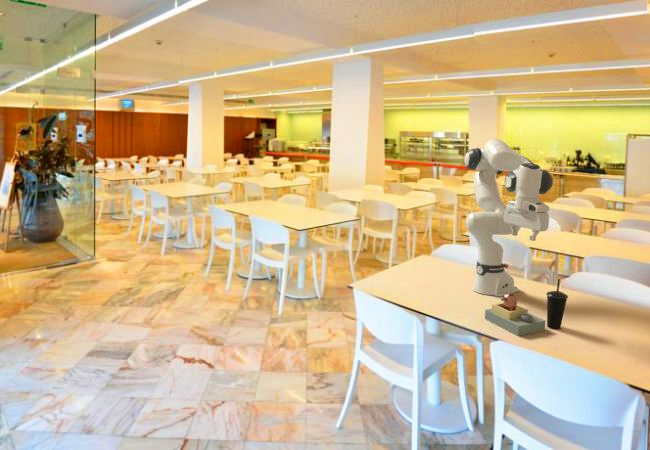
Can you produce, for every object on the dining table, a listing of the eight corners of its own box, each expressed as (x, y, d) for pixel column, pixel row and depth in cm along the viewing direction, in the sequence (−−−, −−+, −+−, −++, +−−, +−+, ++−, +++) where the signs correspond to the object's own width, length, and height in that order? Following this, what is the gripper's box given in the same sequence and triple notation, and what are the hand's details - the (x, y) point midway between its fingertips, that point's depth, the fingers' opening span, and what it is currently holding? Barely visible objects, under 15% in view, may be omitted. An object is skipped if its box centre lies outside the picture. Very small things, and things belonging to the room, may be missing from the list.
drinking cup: (539, 323, 194) (544, 276, 190) (557, 322, 195) (562, 276, 191) (549, 331, 187) (555, 282, 183) (568, 330, 187) (574, 282, 183)
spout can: (509, 310, 197) (511, 290, 195) (518, 314, 192) (520, 294, 190) (496, 312, 194) (497, 292, 192) (505, 317, 190) (507, 297, 188)
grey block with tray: (510, 313, 204) (511, 298, 202) (544, 330, 188) (546, 313, 186) (484, 318, 198) (486, 302, 197) (517, 336, 182) (519, 318, 181)
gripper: (501, 200, 199) (498, 233, 202) (541, 208, 181) (537, 244, 184) (513, 200, 202) (510, 232, 205) (553, 207, 184) (549, 242, 186)
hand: (523, 237), depth 194 cm, fingers open, 8 cm apart
